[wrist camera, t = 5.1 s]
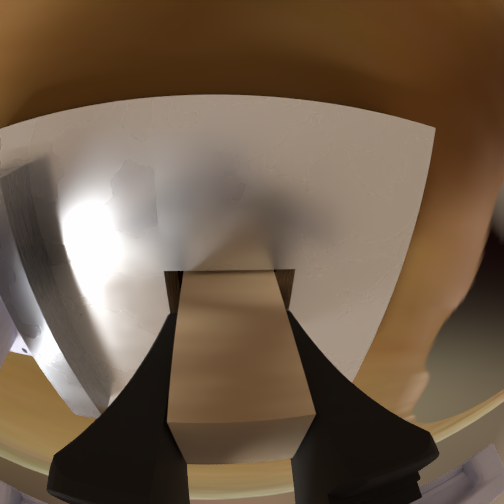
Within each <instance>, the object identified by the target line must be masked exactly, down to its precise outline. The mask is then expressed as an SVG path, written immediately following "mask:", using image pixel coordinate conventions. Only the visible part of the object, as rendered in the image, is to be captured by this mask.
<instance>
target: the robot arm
mask: <svg viewBox="0 0 504 504" xmlns="http://www.w3.org/2000/svg"><path fill="white" fill-rule="evenodd" d="M286 313H287V316H288V319H289V323H290V326H291V329H292V333H293V336H294V339H295V343H296V346H297V350H298V353H299V356H300V360H301V363H302V367H303V370H304V373H305V377H306V380H307V384H308V387H309V391H310V394H311V398H312V401H313V405H314V408H315V412H316V415H315V417H314V419H313V421H312V423H311V425H310V427H309V429H308V431H307V433H306V435H305V436H304V438H303V440H302V442H301V444H300V446H299V447H298V449H297V451H296V453H295V455H294V456H293V458H291V465H292V473H293V482H294V491H295V502H296V504H491V503H492V502H493V501H494V500H495V499H496V498H497V497H499V496H500V495H501V494H502V493H503V492H504V466H503V464H502V462H501V459H500V457H499V455H498V453H497V451H496V449H495V447H494V444H493V443H491V444H490V445H489V446H487V447H486V448H484V449H483V450H481V451H480V452H478V453H477V454H475V455H474V456H472V457H471V458H470V459H468V460H466V461H465V462H464V463H463V464H462V465H460V466H458V467H457V468H455V469H453V470H452V471H450V472H448V473H447V474H445V475H443V476H441V477H439V478H437V479H435V480H434V481H432V482H430V483H428V484H426V485H424V486H422V487H420V488H419V486H418V484H417V481H418V480H420V475H419V473H418V471H419V470H421V469H422V468H424V467H425V466H427V465H428V464H430V463H431V462H432V461H434V460H435V459H436V458H437V457H438V456H439V451H438V449H437V446H436V444H435V442H434V440H433V438H432V436H431V434H430V432H428V431H426V430H424V429H422V428H420V427H418V426H416V425H413V424H411V423H409V422H407V421H405V420H404V419H402V418H400V417H398V416H397V415H395V414H393V413H392V412H390V411H388V410H387V409H386V408H384V407H383V406H381V405H380V404H378V403H377V402H376V401H374V400H373V399H371V398H370V397H368V396H367V395H366V394H365V393H364V392H362V391H361V390H360V389H359V388H357V387H356V386H355V385H354V384H353V383H352V382H351V381H349V380H348V379H347V378H346V377H345V376H344V375H343V374H342V373H341V372H340V371H339V370H338V369H337V368H336V367H335V366H334V365H333V364H332V363H331V362H330V361H329V359H328V358H327V357H326V356H325V355H324V354H323V353H322V352H321V350H320V349H319V348H318V347H317V346H316V344H315V343H314V342H313V341H312V340H311V338H310V337H309V336H308V334H307V333H306V332H305V330H304V329H303V328H302V326H301V325H300V324H299V322H298V321H297V320H296V318H295V317H294V315H293V314H292V312H290V311H289V310H286ZM177 315H178V313H170V314H169V315H167V318H166V320H165V322H164V324H163V326H162V328H161V330H160V332H159V334H158V336H157V338H156V340H155V341H154V343H153V345H152V347H151V348H150V350H149V352H148V353H147V355H146V357H145V358H144V360H143V361H142V363H141V364H140V366H139V367H138V369H137V370H136V372H135V373H134V375H133V376H132V378H131V379H130V381H129V382H128V383H127V385H126V386H125V387H124V389H123V390H122V391H121V392H120V394H119V395H118V396H117V397H116V399H115V400H114V401H113V402H112V403H111V404H110V405H109V407H108V408H107V409H106V410H105V411H104V412H103V413H102V414H101V415H100V416H99V417H98V418H97V419H96V420H95V421H94V422H93V423H92V424H91V425H90V426H89V427H88V428H87V429H86V430H85V431H84V432H82V433H81V434H80V435H79V436H78V437H77V438H76V439H74V440H73V441H72V442H70V443H69V444H68V445H67V446H65V447H64V448H63V449H61V450H60V451H59V452H57V453H56V454H55V455H54V457H53V460H52V463H51V466H50V471H49V476H48V483H47V491H48V493H49V494H51V495H53V496H54V497H57V498H59V499H60V500H63V501H65V502H67V503H69V504H190V500H189V489H188V476H187V463H186V461H185V459H184V457H183V455H182V453H181V451H180V449H179V447H178V445H177V443H176V441H175V438H174V436H173V434H172V432H171V430H170V428H169V425H168V423H167V415H168V401H169V388H170V377H171V367H172V357H173V348H174V339H175V330H176V322H177ZM9 351H12V352H17V353H21V354H26V355H31V356H33V355H32V354H31V352H30V351H29V349H28V347H27V346H26V344H25V342H24V340H23V339H22V337H21V335H20V333H19V332H18V330H17V328H16V326H15V324H14V322H13V320H12V318H11V316H10V314H9V312H8V310H7V308H6V306H5V304H4V302H3V300H2V298H1V296H0V369H1V367H2V365H3V363H4V361H5V359H6V357H7V355H8V353H9ZM0 504H47V503H45V502H42V501H40V500H38V499H35V498H33V497H31V496H28V495H26V494H24V493H22V492H20V491H19V490H17V489H16V488H14V487H12V486H10V485H8V484H6V483H4V482H3V481H1V480H0Z"/></svg>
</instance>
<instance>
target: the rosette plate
mask: <svg viewBox="0 0 504 504" xmlns="http://www.w3.org/2000/svg"><path fill="white" fill-rule="evenodd" d="M435 129H436V128H434V127H431V126H428V125H425V124H421V123H418V122H414V121H411V120H407V119H403V118H399V117H395V116H391V115H387V114H383V113H378V112H374V111H369V110H364V109H359V108H354V107H349V106H343V105H337V104H331V103H324V102H317V101H309V100H301V99H291V98H281V97H268V96H251V95H180V96H163V97H151V98H140V99H131V100H123V101H116V102H109V103H102V104H96V105H90V106H85V107H80V108H75V109H70V110H65V111H61V112H57V113H52V114H48V115H44V116H41V117H37V118H33V119H30V120H26V121H23V122H20V123H16V124H13V125H10V126H7V127H4V128H1V129H0V296H1V298H2V300H3V302H4V304H5V306H6V308H7V310H8V312H9V314H10V316H11V318H12V320H13V322H14V324H15V326H16V328H17V330H18V332H19V333H20V335H21V337H22V339H23V340H24V342H25V344H26V346H27V347H28V349H29V351H30V352H31V354H32V355H33V357H34V359H35V360H36V362H37V363H38V365H39V366H40V368H41V369H42V371H43V372H44V374H45V375H46V377H47V378H48V380H49V381H50V382H51V384H52V385H53V387H54V388H55V389H56V391H57V392H58V393H59V395H60V396H61V397H62V399H63V400H64V401H65V402H66V404H67V405H68V406H69V407H70V409H71V410H72V411H73V412H74V414H76V415H81V416H86V417H91V418H98V417H99V416H100V415H101V414H102V413H103V412H104V411H105V410H106V409H107V408H108V407H109V405H110V404H111V403H112V402H113V401H114V400H115V399H116V397H117V396H118V395H119V394H120V392H121V391H122V390H123V389H124V387H125V386H126V385H127V383H128V382H129V381H130V379H131V378H132V376H133V375H134V373H135V372H136V370H137V369H138V367H139V366H140V364H141V363H142V361H143V360H144V358H145V357H146V355H147V353H148V352H149V350H150V348H151V347H152V345H153V343H154V341H155V340H156V338H157V336H158V334H159V332H160V330H161V328H162V326H163V324H164V322H165V320H166V318H167V315H169V314H170V313H178V307H179V300H180V286H179V277H178V271H218V270H275V276H276V280H277V283H278V286H279V289H280V293H281V296H282V299H283V303H284V306H285V309H286V310H289V311H290V312H292V314H293V315H294V317H295V318H296V320H297V321H298V322H299V324H300V325H301V326H302V328H303V329H304V330H305V332H306V333H307V334H308V336H309V337H310V338H311V340H312V341H313V342H314V343H315V344H316V346H317V347H318V348H319V349H320V350H321V352H322V353H323V354H324V355H325V356H326V357H327V358H328V359H329V361H330V362H331V363H332V364H333V365H334V366H335V367H336V368H337V369H338V370H339V371H340V372H341V373H342V374H343V375H344V376H345V377H346V378H347V379H348V380H349V381H351V382H352V381H353V380H354V378H355V376H356V374H357V372H358V370H359V368H360V366H361V364H362V362H363V360H364V358H365V356H366V354H367V352H368V349H369V347H370V345H371V343H372V341H373V339H374V336H375V334H376V332H377V330H378V327H379V325H380V323H381V320H382V318H383V316H384V313H385V311H386V308H387V306H388V303H389V301H390V298H391V296H392V293H393V291H394V288H395V285H396V282H397V280H398V277H399V274H400V271H401V268H402V265H403V263H404V260H405V257H406V253H407V250H408V247H409V244H410V241H411V237H412V234H413V231H414V227H415V224H416V220H417V216H418V213H419V209H420V205H421V201H422V197H423V193H424V188H425V184H426V179H427V175H428V170H429V165H430V159H431V154H432V148H433V142H434V136H435Z"/></svg>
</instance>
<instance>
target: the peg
mask: <svg viewBox="0 0 504 504" xmlns="http://www.w3.org/2000/svg"><path fill="white" fill-rule="evenodd" d="M315 415H316V412H315V408H314V405H313V401H312V398H311V394H310V391H309V387H308V384H307V380H306V377H305V373H304V370H303V367H302V363H301V360H300V356H299V353H298V350H297V346H296V343H295V339H294V336H293V333H292V329H291V326H290V323H289V319H288V316H287V313H286V309H285V306H284V303H283V299H282V296H281V293H280V289H279V286H278V283H277V280H276V276H275V273H274V270H218V271H184V273H183V279H182V286H181V293H180V300H179V307H178V315H177V322H176V330H175V339H174V348H173V357H172V367H171V377H170V388H169V401H168V415H167V423H168V425H169V428H170V430H171V432H172V434H173V436H174V438H175V441H176V443H177V445H178V447H179V449H180V451H181V453H182V455H183V457H184V459H185V461H186V463H187V464H239V463H254V462H265V461H274V460H282V459H290V458H293V456H294V455H295V453H296V451H297V449H298V447H299V446H300V444H301V442H302V440H303V438H304V436H305V435H306V433H307V431H308V429H309V427H310V425H311V423H312V421H313V419H314V417H315Z"/></svg>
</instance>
